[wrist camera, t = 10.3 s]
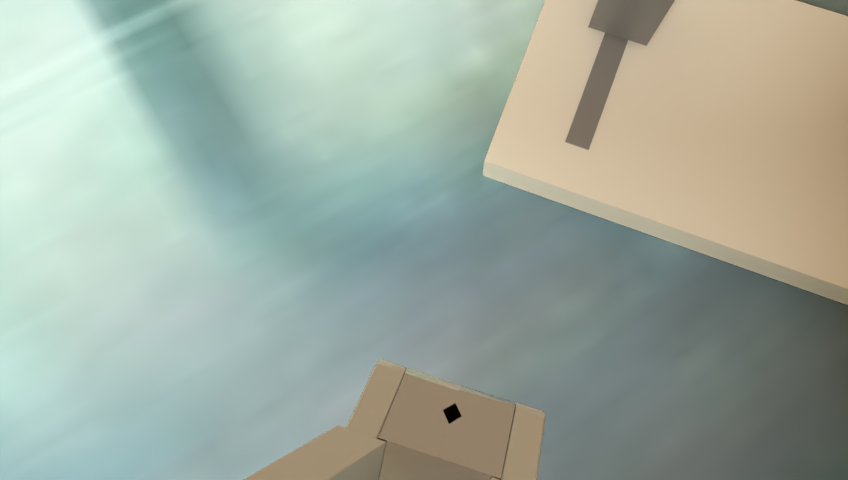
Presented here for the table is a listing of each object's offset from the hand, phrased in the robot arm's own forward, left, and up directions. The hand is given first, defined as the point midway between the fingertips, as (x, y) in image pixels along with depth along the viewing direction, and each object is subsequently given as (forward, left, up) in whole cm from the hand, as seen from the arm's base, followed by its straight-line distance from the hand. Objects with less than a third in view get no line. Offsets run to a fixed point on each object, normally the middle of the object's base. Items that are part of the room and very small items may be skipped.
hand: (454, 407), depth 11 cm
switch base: (0, -18, -22) cm, 29 cm away
